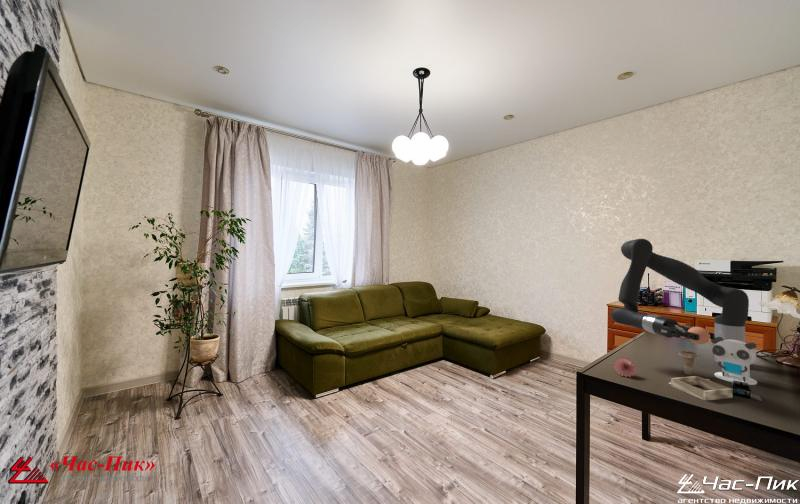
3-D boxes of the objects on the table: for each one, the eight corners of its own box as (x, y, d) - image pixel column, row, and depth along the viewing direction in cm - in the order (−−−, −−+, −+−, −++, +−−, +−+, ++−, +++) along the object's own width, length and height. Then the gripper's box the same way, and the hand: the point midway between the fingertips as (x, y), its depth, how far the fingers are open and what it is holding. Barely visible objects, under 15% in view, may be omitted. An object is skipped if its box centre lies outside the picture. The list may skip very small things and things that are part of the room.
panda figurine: (706, 375, 126) (706, 337, 125) (720, 370, 130) (720, 334, 130) (748, 387, 115) (748, 346, 114) (763, 381, 119) (763, 342, 119)
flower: (617, 355, 132) (619, 351, 128) (639, 367, 127) (642, 363, 123) (608, 371, 130) (610, 367, 126) (630, 383, 126) (633, 380, 121)
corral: (696, 383, 118) (696, 375, 118) (732, 397, 107) (732, 388, 107) (671, 386, 116) (671, 378, 116) (705, 400, 105) (705, 391, 105)
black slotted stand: (716, 394, 111) (716, 381, 111) (714, 387, 116) (714, 374, 116) (770, 405, 102) (770, 391, 102) (766, 397, 108) (766, 384, 108)
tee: (687, 371, 130) (687, 350, 130) (699, 375, 125) (699, 353, 125) (678, 371, 129) (678, 351, 129) (690, 376, 125) (690, 354, 125)
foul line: (707, 379, 121) (707, 378, 121) (710, 380, 120) (710, 379, 120) (668, 383, 119) (668, 382, 119) (671, 384, 118) (671, 383, 118)
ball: (696, 340, 115) (696, 324, 115) (715, 345, 109) (715, 328, 109) (682, 341, 114) (682, 325, 114) (700, 346, 108) (700, 329, 108)
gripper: (643, 316, 125) (688, 327, 108) (674, 315, 127) (723, 325, 110) (643, 335, 125) (688, 349, 108) (674, 333, 127) (723, 346, 110)
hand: (706, 337), depth 109 cm, fingers closed on ball, 6 cm apart
